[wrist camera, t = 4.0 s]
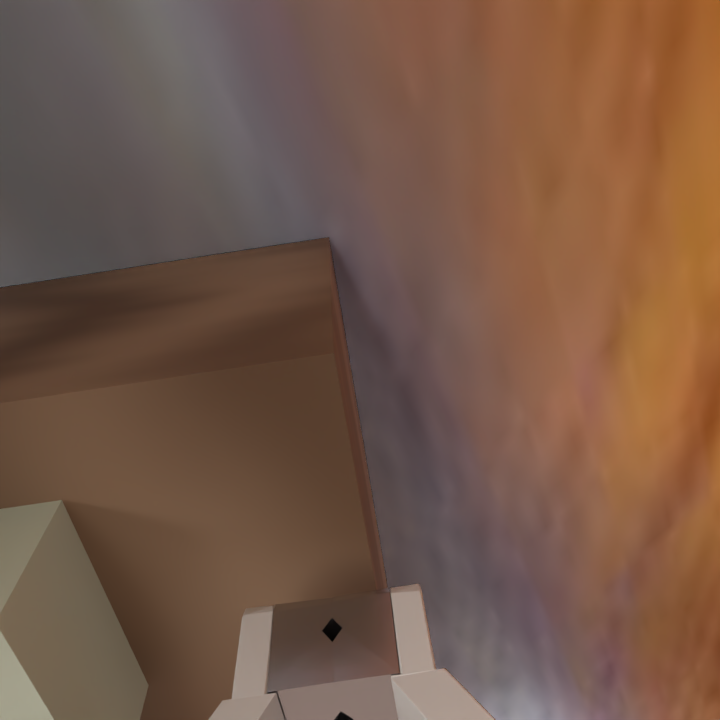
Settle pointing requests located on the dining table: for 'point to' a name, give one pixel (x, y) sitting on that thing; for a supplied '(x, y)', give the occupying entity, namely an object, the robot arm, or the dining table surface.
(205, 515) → the brown box sleeve
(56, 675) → the sage tile
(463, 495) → the dining table surface
